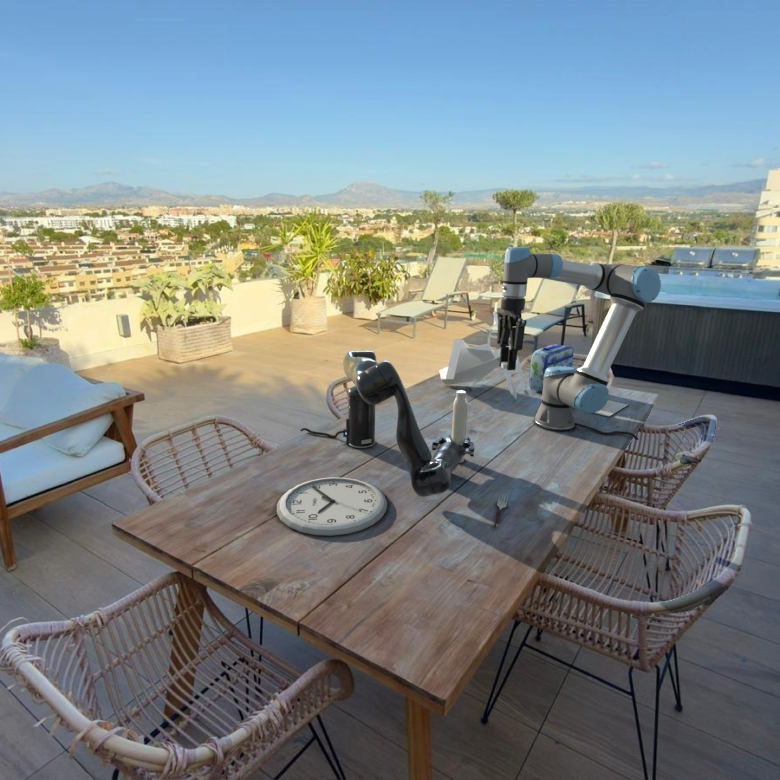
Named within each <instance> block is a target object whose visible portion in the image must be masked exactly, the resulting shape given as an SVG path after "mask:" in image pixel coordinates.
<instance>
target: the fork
mask: <svg viewBox="0 0 780 780" xmlns="http://www.w3.org/2000/svg"><path fill="white" fill-rule="evenodd" d="M503 497H504V498H503ZM508 498H509V495H507V497H506V493H505V494H502V495H498V499H497V503H496V506H497V507H498V508H499V509H498V511H497V513H496V514H495V520H494V525H493V527H494V528H496V526H497V524H498V523H499V521H500V520H501V519H500V518H501V513H502V509H505V508H506V507H507V506H508V500H509V499H508Z"/></svg>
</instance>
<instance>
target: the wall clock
mask: <svg viewBox="0 0 780 780" xmlns="http://www.w3.org/2000/svg"><path fill="white" fill-rule="evenodd" d="M387 509H388V500H387V498H386V496H385V494H384V493H383V492H382V491H381V490H380V489H379V488H377V487H376V486H374V485H372V484H371V483H369V482H365V481H362V480H359V479H355V478H349V477H338V476H337V477H335V476H333V477H332V476H331V477H322V478H317V479H312V480H307V481H305V482H302V483H299V484H297V485H295V486H293V487H292V488H290V489H288V490H287V491H286V492H285V493H284V494H283V495H281V496H280V498H279V499H278V502H277V503H276V515H277V517H278V518H279V520H280V521H281V522H282V523H283V524H285V525H286V526H287V527H288V528H290V529H293V530H295V531H297V532H299V533H303V534H308V535H312V536H327V537H328V536H329V537H331V536H332V537H333V536H342V535H350V534H352V533H356V532H361V531H363V530H366V529H368V528H369V527H372V526H373V525H375V524H376V523H378V522H379V521H380V520H381V519H382V518H383V517H384V516H385V514H386V512H387Z"/></svg>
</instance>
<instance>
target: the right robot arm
mask: <svg viewBox="0 0 780 780" xmlns="http://www.w3.org/2000/svg"><path fill="white" fill-rule="evenodd" d="M503 264H504V265H503V277H502V287H501V289H502V290H501V291H502V292H501V295H502V297H501V300H500V309H501V310H503V311H502V313H497V314H498V328H497V332H496V333H497V334H496V344H498V345H499V347H500V348H501V350H500V365H499V367H500V368H501V363H502V362H508V364H507V370H509V371H515V370H516V360H517V355H518V351H522V350H523V347H524V337H525V331H526V326H527V322H528V320H527V319H523V318H522V317H523V316H522V312H523V311H524V310H525V309H526V308H525V307H526V297H527V289H528V279H543V280H544V279H545V280H548V281H549V280H550V281H554V282H555V281H556V282H560V283H565V284H572V285H578V286H583V287H584V288H585V289H586V290H589V291H594V292H598V293H601V294H604V295H607V296H609V300H610V302H611V305H610V306H609V309H608V312H607V313H606V316H605V318H604V319H603V321H602V324H601V326H600V328H599V331H598V333H597V334H596V337H595V339H594V341H593V343H592V346H591V347H590V350H589V352H588V354H587V356H586V359H585V361H584V363H583V365H582V366H581V367H578V368H576V367H573V366H572V367H565V366H556V367H549V368H547V369H546V370H545V374H544V381H543V391H542V392H541V393H542V394H541V402H540V405H539V407H538V410H537V411H536V413H535V417H534V424H535V425H536V426H537V427H539V428H542V429H544V430H549V431H556V432H567V431H572V430H574V429H575V428H576V426H577V427H581V428H583V429H587V430H590V431H594V432H595V433H599V434H601V435H607V436H610V435H617V434H618V435H628V436H630V437H632V438H634V439H635V440H637V441H639V438H638V436H637V435H636V434H634V433H633V432H630V431H622V430H621V431H620V430H614V431H602V430H600V429H597V428H596V427H595V428H594V427H591V426H588V425H586V424H582V423H579V422H576V418H575V417H576V416H575V413H574V409H575V410H576V411H577V412H580V413H584V414H587V415H593V414H596V413H595V412H597V411H599V410H601V409H602V408H603V407H604V406H605V405H606V403H607V401H608V400H609V398H610V394H609V393H610V391H609V389H608V387H607V386H608V384H609V378H608V374H609V371H610V369H611V367H612V365H613V363H614V360H615V358H616V357H617V354H618V352H619V350H620V348H621V346H622V344H623V341H624V339H625V337H626V335H627V333H628V331H629V329H630V327H631V324H632V322H633V321H634V318H635V316H636V314H637V313H638V312H641V311H643V310H644V308H645V306H646V304H649V303H652V302H653V301H655V300H656V299H657V297H658V296H659V294H660V292H661V288H662V281H661V279H660V274H659V272H658V271H657V270H656V269H654V268H652V267H649V266H645V265H634V264H633V265H632V264H621V263H612V264H611V263H597V262H592V263H590V264H587V263H582V262H577V261H571V260H566V259H563V258H562V257H561V255H560V254H558V253H541V252H540V253H539V252H531V248H530V247H525V246H522V247H521V246H519V247H518V246H509V247H508V248H506V250H505V254H504V261H503ZM506 346H510V349H509V347H506Z"/></svg>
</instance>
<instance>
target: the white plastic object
mask: <svg viewBox="0 0 780 780" xmlns="http://www.w3.org/2000/svg"><path fill="white" fill-rule="evenodd" d="M498 314H499V313H498V312H497V311H496V310H495V311H492V315H493V319H494V321H495V324H496V325H495V326H496V328H497V329H498ZM506 347H509V349H510V346H506ZM500 350H501V347H500V348H498V349H496V350H495V349H493V348H492V347H491V346H490V344H489V343H488V342H487V343H483V344H479V345H473V346H469V345H468V343H466V342H465V340H464V339H463V338H460V339H458V338H454V340H453V344H452V349H451V353H450V357H449V362H448V366H446V367H444V368H442V369H440V370H439V371H438V372H439V376H440V381H442V383H443V384H444V385H445V386H449V385H458V384H467V383H468V384H469V383H473V384H477V383H480V382H482V381H484V378H485V377H486V376H487V375H489V374H490V373H492V372H494V371H495V370H496V369H497V368H499V367H500V366H499V365H500ZM522 368H523V367H522V366H521V362H520V359H519V355H518V354H517V360H516V368H515V370H516V372H517V376H518V380H519V382H520V385H521V389H522V391H523V393H524V395H525V396H526V397H528V396H531V395H530V389H529V388H528V387H529V386H528V384H527V381H526V378H525V375H524V371H523V369H522ZM502 370H503V373H504V376H505V380H506V383H507V386H508V390H509V393H510V394H511V395H512V397H513V398H514V399H515V400H517V392H516V391H517V390H516V388H515V385H514V381H513V378H512V375H511V370H507V369H504V368H502Z"/></svg>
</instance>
